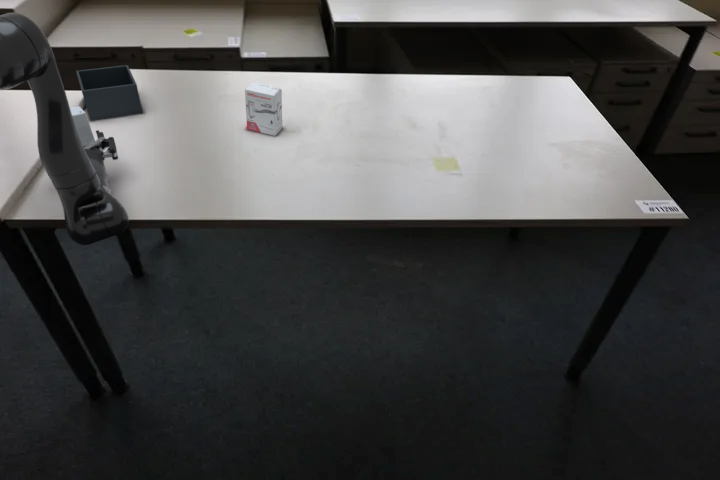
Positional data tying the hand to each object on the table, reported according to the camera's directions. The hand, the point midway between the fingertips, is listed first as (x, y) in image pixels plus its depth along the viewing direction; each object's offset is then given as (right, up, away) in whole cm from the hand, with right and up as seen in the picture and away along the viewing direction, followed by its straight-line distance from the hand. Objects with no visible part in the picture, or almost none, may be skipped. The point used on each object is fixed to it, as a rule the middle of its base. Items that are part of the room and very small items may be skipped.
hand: (77, 137), depth 117 cm
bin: (-4, +14, +26) cm, 30 cm away
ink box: (+38, +7, +23) cm, 45 cm away
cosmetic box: (-2, -4, +6) cm, 7 cm away
